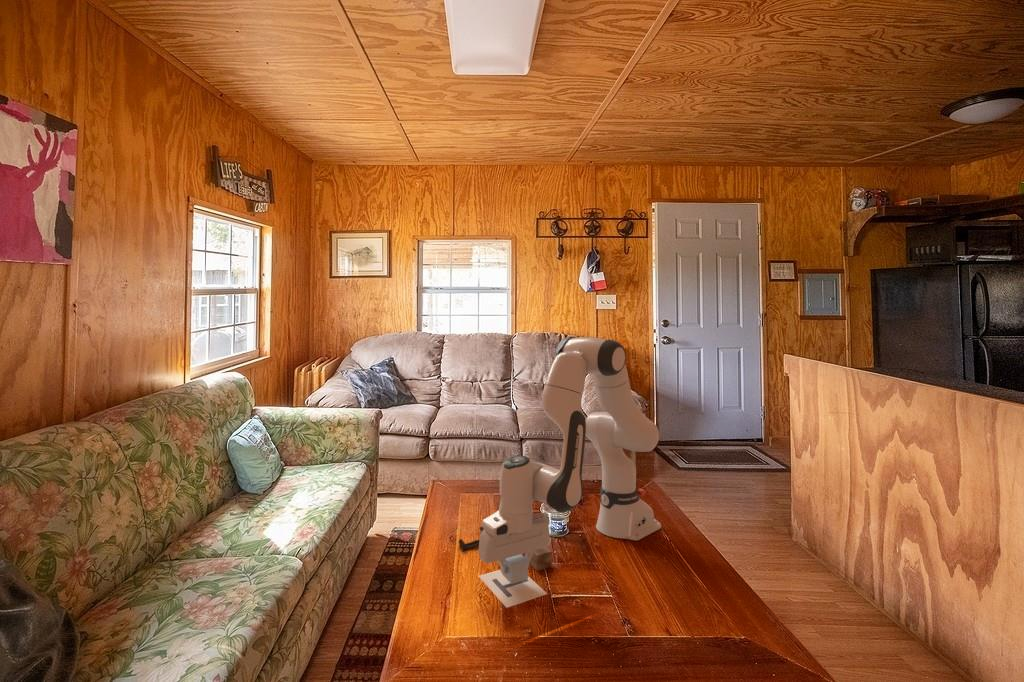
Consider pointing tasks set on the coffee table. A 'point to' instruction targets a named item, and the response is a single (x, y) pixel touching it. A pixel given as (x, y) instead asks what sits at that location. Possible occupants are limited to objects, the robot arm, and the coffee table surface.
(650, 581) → the coffee table surface
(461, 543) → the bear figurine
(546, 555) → the walnut block
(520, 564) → the grey cube
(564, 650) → the coffee table surface
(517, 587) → the letter card
